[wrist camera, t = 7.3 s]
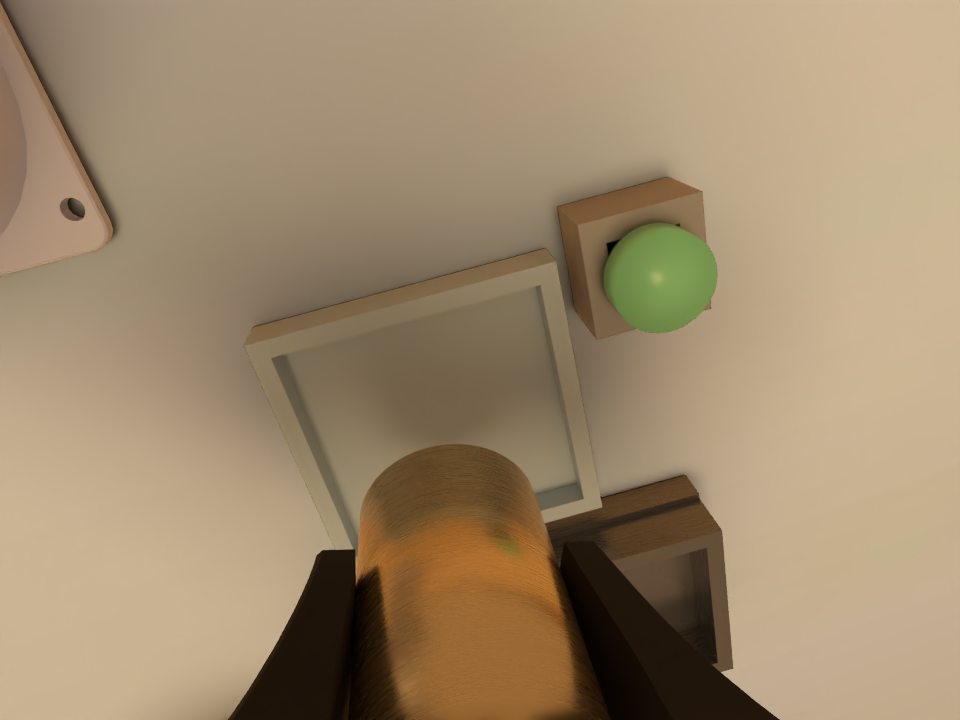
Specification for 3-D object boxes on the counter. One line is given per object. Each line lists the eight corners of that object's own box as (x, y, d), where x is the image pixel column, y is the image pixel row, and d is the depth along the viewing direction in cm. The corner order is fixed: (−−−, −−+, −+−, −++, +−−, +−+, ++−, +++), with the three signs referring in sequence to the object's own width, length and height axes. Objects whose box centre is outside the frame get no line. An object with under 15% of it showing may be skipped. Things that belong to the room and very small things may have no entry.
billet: (334, 473, 13) (299, 752, 8) (516, 422, 14) (602, 665, 8) (390, 604, 15) (393, 902, 10) (551, 558, 15) (640, 831, 10)
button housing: (556, 206, 17) (577, 225, 15) (668, 176, 17) (702, 191, 15) (575, 311, 18) (597, 339, 16) (678, 283, 18) (711, 308, 16)
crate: (323, 575, 21) (316, 637, 18) (685, 475, 21) (721, 525, 19) (384, 703, 24) (384, 771, 21) (700, 614, 24) (733, 672, 22)
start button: (573, 218, 16) (607, 247, 14) (663, 193, 16) (713, 218, 14) (587, 303, 17) (621, 344, 15) (672, 280, 17) (720, 317, 15)
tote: (252, 327, 17) (243, 345, 16) (545, 248, 17) (556, 261, 16) (349, 550, 20) (347, 577, 19) (591, 483, 21) (602, 507, 19)
